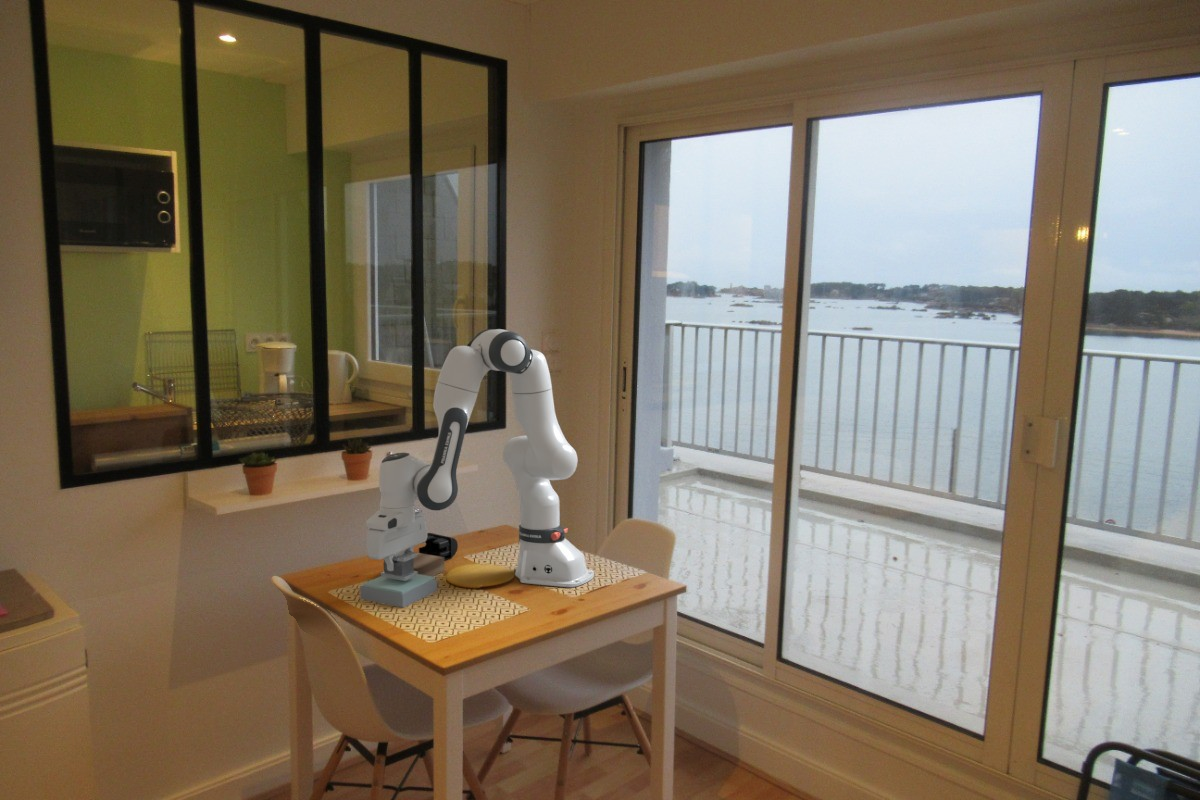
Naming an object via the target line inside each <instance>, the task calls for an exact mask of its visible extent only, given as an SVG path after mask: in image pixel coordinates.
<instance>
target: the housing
mask: <svg viewBox="0 0 1200 800" xmlns="http://www.w3.org/2000/svg"><path fill="white" fill-rule="evenodd" d="M417 553H418V552H414V551H413V552H408V551H406V550H403V551H400V552H398V553H395V554H393V558H392V561H393V563H396V569H395V570H393V571H388V570H387V564H386V562H385V560H384V559H383V563H384V564H383V571H381V572H380V576H381V577H386V578H392V579H397V580H403V581H406V580H408V579H410V578H412V577H415V576H417V575H418V571H414V558H415V557H417Z"/></svg>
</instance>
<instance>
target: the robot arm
mask: <svg viewBox="0 0 1200 800" xmlns="http://www.w3.org/2000/svg"><path fill="white" fill-rule="evenodd" d="M489 371H496V372H498V371H499V372H503V373H507V375H508V376H509V379H510V381H511V382H510V384H511V385H510V386H511V394H512V403H513V410H514V411H513V412H514V418H515V421H516V422H517V424H518V425H519V426H520V427H521V429H522V430H523V432H524V434H525V435H519V436H515V437H514V436H513V437H512V438H510V439H509V440H507V442H506V443H505V444H504V447H503V449H502V450H503V451H502V457H503V461H504V463H505V466H507V468H508V469H509V470H510V472H511V474H512V477H513V479H514V483H515V487H516V488H517V494H518V497H519V514H520V515H519V516H520V517H519V519H520V520H519V521H520V523H519V525H518V540H519V541H518V542H519V552H518V558H517V559H518V560H517V566H516V570H515V573H514V575H515V577H517V578H518V579H519V581H520V583H522V584H529V585H530V584H532V585H542V586H551V587H559V588H560V587H562V588H563V587H564V588H574V587H579V586H582V585H584V584H586V583H588V582H590V581H591V580H592V579H593V578H594V577H595V571H594V570H592V569H588V568H587V563H586V557H585V555H584V553H583V552H582V551H581V550H579V549H578V548H577V547H576V546H575V545H574V544H573V543H572V542H570V541H569V540H568V539H567V538H566V535H565V533H568V529H569V528H568V527H566V528H564V529H563V527H562V524H561V522H560V519H561V517H560V516H561V515H560V497H559V495H558V493H557V492H556V491H555V490H554V488H553V486H552V484H551V481H560V480H567V479H569V478H570V477H572V476H573V474H575V472H576V470H577V467H578V459H579V458H578V454H577V452H576V450H575V449H574V447H573V446H572V445H570V443H569V442H568V441H567V439H566V437H565V435H564V433H563V431H562V429H561V426H560V425H559V421H558V418H557V414H556V409H555V403H554V402H555V401H554V394H553V385H552V378H551V374H550V369H549V365H548V361H547V359H546V357H545V355H544V353H542V352H541V351H538V350H536V349H531V347H529V344H527V342H526V340H525V339H524V337H522V336H521V335H520V334H518V333H517V332H514V331H511V330H510V331H509V330H506V329H501V328H497V329H493V328H487V329H484V330H481V331H480V332H478V333H477V334H476V335H475V336H474V337H473V338H472V340H471V341H470V342H469V343H467V345H457V346H454V347H453V348H452V349H450V350H449V352H448V354H447V356H446V358H445V361H444V363H443V364H442V367H441V370H440V372H439V375H438V379H437V382H436V384H435V389H434V395H433V406H432V407H433V410H434V413H435V417H436V420H437V425H438V435H437V440H436V445H435V449H434V452H433V456H432V461H431V462H428V461H424V460H422V459H419V458H418V457H415V456H413V455H411V453H408V452H398V453H396V452H395V453H393V454H389V455H388V456H386V457H384V458H383V459H382V461H381V462H380V465H379V473H378V487H379V489H378V490H379V492H380V500H379V501H380V502H379V509H378V510H377V511H376V512H375V513H374V514H373V515H371V516H370V517H369V518H368V519H367V520H366V521H365V525H366V528H367V529H368V530H367V533H366V536H365V537H366V542H365V543H366V545H365V547H366V554H367V556H368V559H370V560H371V559H372V560H374V561H375V560H376V561H377V560H378V561H379V560H382V559H383V561H384V560H385V562H386V564H387V570H388V571H393V570H395V569H396V563H393V561H392V558H393V554H395V553H398V552H400V551H408V552H414V551H415V548H414V547H416V546H418V545H420V544H424V543H423V542H426V540H427V536H428V535H427V533H428V527H427V520H426V518H425V513H424V511H423V510H422V509H421V508H415V507H416V506H415V505H416V504H415V502H416V500H418V501H419V502H420V504H421V505H422V506H423V507H425V509H427V510H430V511H443V510H445V509H447V508H448V507H451V505H452V504H453V503H454V502H455V501H456V499H457V497H458V492H459V488H458V487H459V485H458V479H457V469H458V464H459V460H460V455H461V451H462V447H463V443H464V439H465V433H466V430H467V427H468V424H469V421H470V419H471V416H472V412H473V410H474V407H475V404H476V402H477V398H478V395H479V391H480V388H481V383H482V380H483V379H484V376H485V375H486V374H487V373H488V372H489Z"/></svg>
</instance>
